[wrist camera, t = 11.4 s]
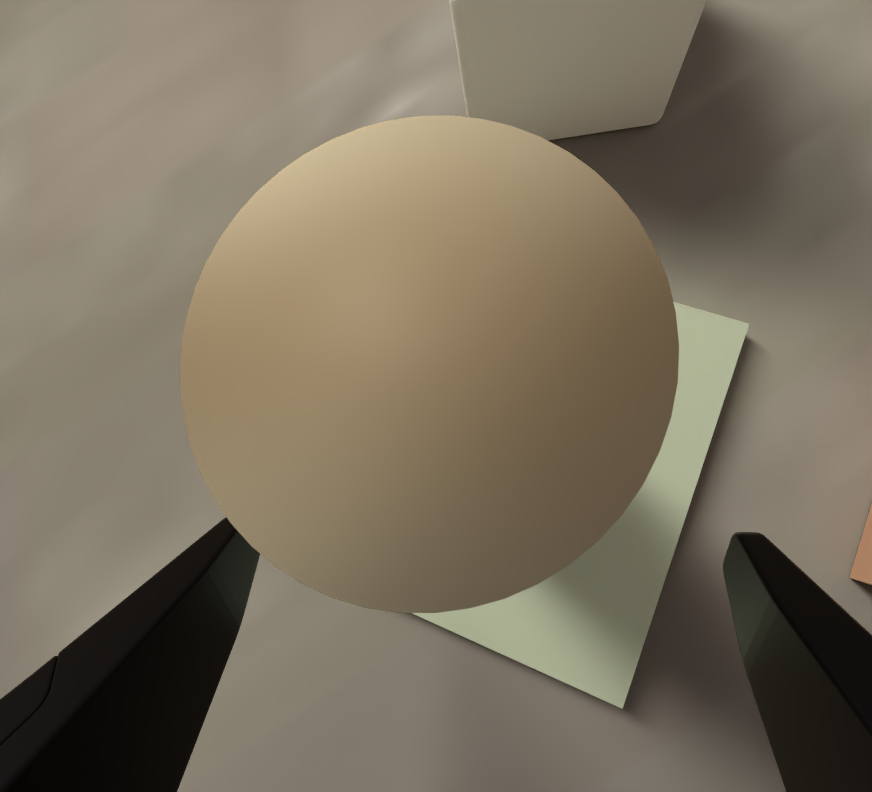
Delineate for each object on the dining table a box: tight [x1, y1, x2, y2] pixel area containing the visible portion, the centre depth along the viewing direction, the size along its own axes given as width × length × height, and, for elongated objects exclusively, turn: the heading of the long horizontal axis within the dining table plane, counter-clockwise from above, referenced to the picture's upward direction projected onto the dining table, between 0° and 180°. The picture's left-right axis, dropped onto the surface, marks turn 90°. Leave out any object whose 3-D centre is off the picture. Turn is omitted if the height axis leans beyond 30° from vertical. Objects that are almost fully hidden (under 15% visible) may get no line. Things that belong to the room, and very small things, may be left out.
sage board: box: [412, 302, 749, 709], centre depth 19 cm, size 13×13×1 cm
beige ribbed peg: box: [180, 115, 679, 613], centre depth 12 cm, size 4×4×14 cm
